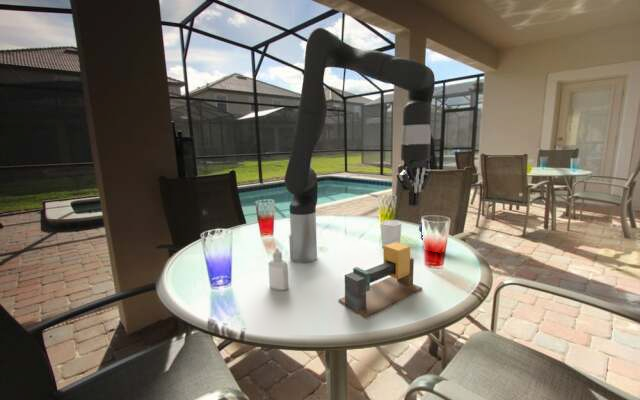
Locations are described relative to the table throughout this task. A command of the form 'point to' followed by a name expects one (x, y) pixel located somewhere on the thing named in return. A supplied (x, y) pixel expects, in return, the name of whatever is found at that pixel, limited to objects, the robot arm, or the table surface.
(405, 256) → the yellow slider block
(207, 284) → the table surface
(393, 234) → the white cup
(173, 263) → the table surface
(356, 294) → the wooden slider rail stand
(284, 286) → the eye dropper bottle
